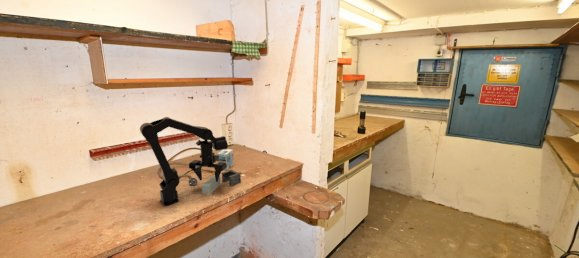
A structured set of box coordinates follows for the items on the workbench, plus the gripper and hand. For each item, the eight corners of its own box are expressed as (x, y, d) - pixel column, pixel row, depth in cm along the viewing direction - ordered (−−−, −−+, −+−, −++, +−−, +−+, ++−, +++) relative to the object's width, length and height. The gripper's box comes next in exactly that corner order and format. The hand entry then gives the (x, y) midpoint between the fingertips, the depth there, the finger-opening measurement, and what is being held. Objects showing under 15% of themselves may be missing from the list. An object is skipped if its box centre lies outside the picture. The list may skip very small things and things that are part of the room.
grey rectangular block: (209, 194, 130) (208, 185, 129) (202, 194, 131) (201, 185, 129) (220, 184, 141) (220, 176, 140) (214, 184, 142) (213, 175, 141)
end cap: (231, 186, 138) (230, 177, 137) (222, 182, 144) (221, 172, 143) (240, 182, 143) (240, 173, 142) (231, 178, 149) (231, 169, 147)
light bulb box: (227, 170, 160) (226, 154, 158) (217, 169, 162) (216, 153, 159) (234, 164, 171) (233, 149, 168) (225, 163, 172) (224, 148, 169)
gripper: (230, 148, 135) (232, 176, 138) (199, 146, 139) (201, 173, 142) (220, 155, 124) (222, 185, 128) (186, 152, 128) (189, 181, 132)
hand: (209, 180), depth 133 cm, fingers open, 9 cm apart
